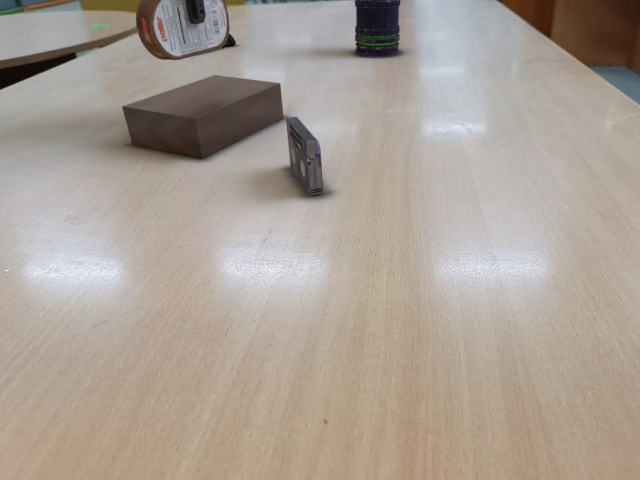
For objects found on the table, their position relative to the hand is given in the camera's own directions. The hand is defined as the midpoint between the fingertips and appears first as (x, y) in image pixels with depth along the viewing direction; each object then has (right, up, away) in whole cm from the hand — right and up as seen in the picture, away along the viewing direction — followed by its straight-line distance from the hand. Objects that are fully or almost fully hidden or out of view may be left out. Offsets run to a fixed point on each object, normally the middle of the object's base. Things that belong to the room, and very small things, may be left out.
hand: (188, 21), depth 69 cm
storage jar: (+27, +15, +45) cm, 55 cm away
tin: (0, -4, +2) cm, 4 cm away
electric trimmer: (-12, +17, +49) cm, 54 cm away
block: (+3, -14, +2) cm, 14 cm away
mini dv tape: (+17, -24, -12) cm, 32 cm away
